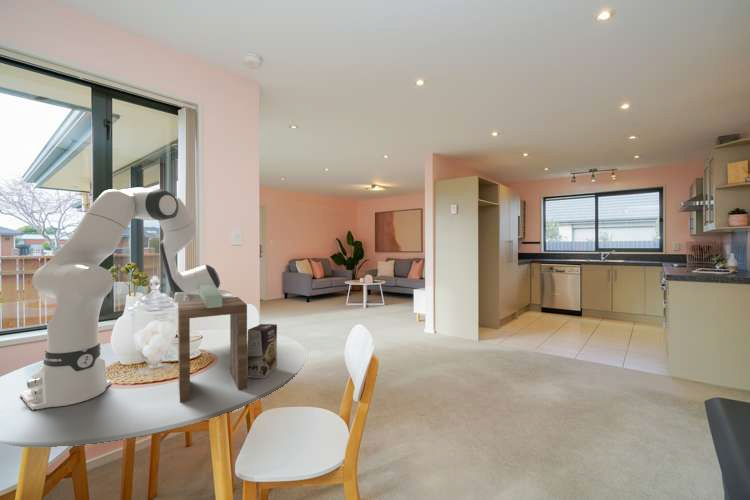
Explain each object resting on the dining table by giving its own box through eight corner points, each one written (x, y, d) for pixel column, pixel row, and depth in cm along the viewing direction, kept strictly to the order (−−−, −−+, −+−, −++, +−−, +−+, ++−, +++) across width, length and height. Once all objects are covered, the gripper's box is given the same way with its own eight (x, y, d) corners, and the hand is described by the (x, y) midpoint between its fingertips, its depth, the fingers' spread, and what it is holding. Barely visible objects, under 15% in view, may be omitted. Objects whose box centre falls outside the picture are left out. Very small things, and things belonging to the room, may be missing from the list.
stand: (178, 381, 109) (178, 301, 109) (238, 371, 119) (237, 297, 118) (179, 402, 96) (179, 310, 95) (247, 388, 105) (247, 304, 104)
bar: (200, 295, 121) (200, 285, 121) (212, 294, 123) (212, 284, 123) (207, 308, 98) (207, 296, 98) (222, 306, 101) (222, 295, 100)
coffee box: (264, 379, 112) (264, 330, 112) (246, 377, 113) (246, 329, 113) (277, 369, 121) (277, 324, 120) (261, 367, 122) (261, 323, 122)
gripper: (179, 288, 135) (170, 289, 122) (234, 291, 141) (232, 293, 128) (176, 304, 134) (168, 306, 121) (232, 307, 140) (229, 310, 127)
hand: (201, 300), depth 125 cm, fingers open, 8 cm apart
